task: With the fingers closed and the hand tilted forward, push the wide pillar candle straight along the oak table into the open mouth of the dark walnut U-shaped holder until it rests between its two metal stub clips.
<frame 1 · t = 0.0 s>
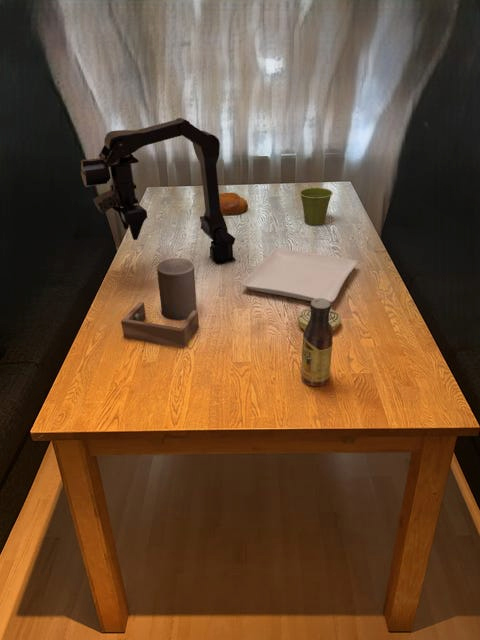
hand: (130, 234, 152), 15 cm above the table, tool pointing down, fingers open, 9 cm apart
croissant: (228, 210, 208), on the table
sauce bottle: (315, 380, 116), on the table
decorated donut: (318, 327, 135), on the table
plant pot: (314, 222, 195), on the table
pillar candle: (179, 311, 143), on the table
square plate: (301, 282, 156), on the table
holder: (163, 331, 135), on the table
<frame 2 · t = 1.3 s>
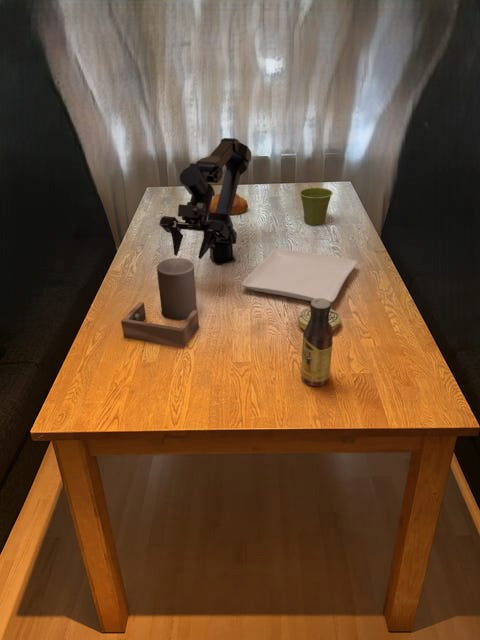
hand: (187, 256, 143), 12 cm above the table, tool tilted 45°, fingers open, 7 cm apart
nothing on the table moved.
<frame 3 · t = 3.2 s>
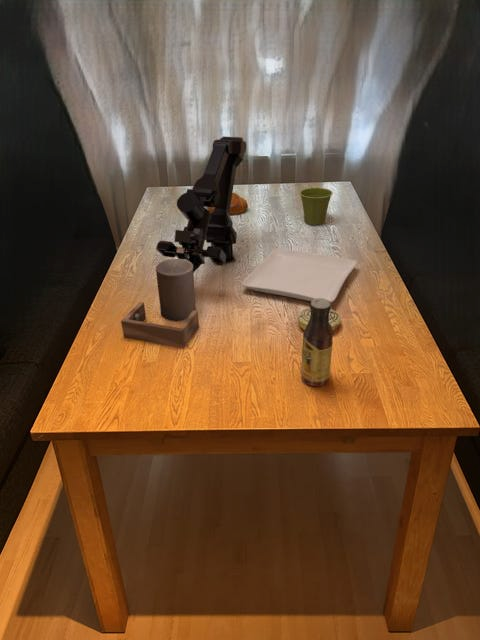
hand: (184, 281, 143), 7 cm above the table, tool tilted 45°, fingers closed, pressing on pillar candle
pillar candle: (179, 312, 143), on the table, touching gripper
everything else where it was.
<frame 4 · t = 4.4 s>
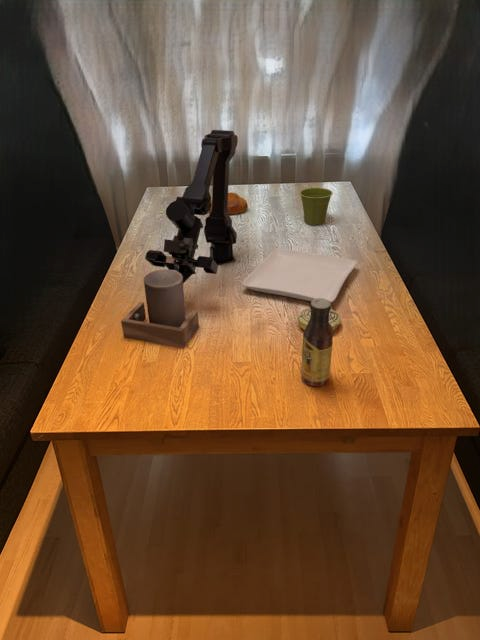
hand: (174, 292, 138), 7 cm above the table, tool tilted 45°, fingers closed, pressing on pillar candle
pillar candle: (168, 325, 138), on the table, touching gripper
everything else where it was.
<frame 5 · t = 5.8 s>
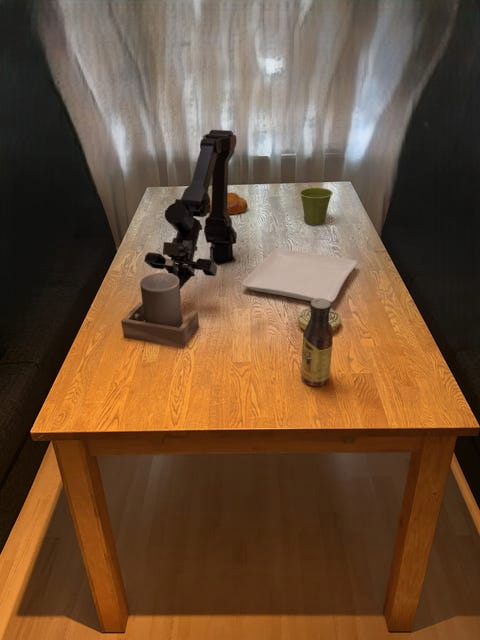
hand: (173, 295, 138), 6 cm above the table, tool tilted 45°, fingers closed
pillar candle: (165, 329, 136), on the table
everything else where it was.
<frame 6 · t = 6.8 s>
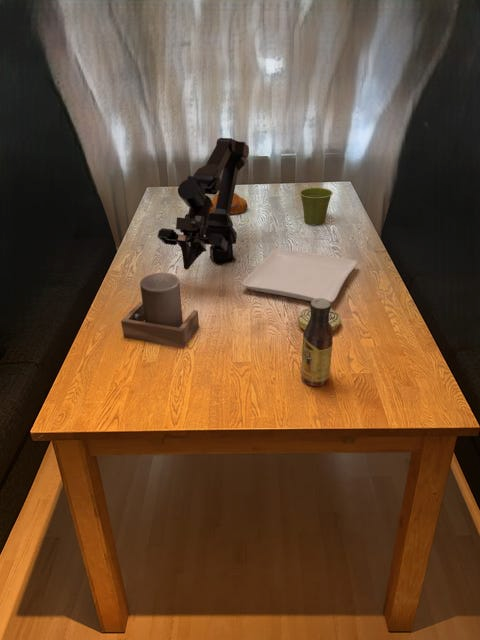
hand: (185, 269, 143), 10 cm above the table, tool tilted 45°, fingers closed
nothing on the table moved.
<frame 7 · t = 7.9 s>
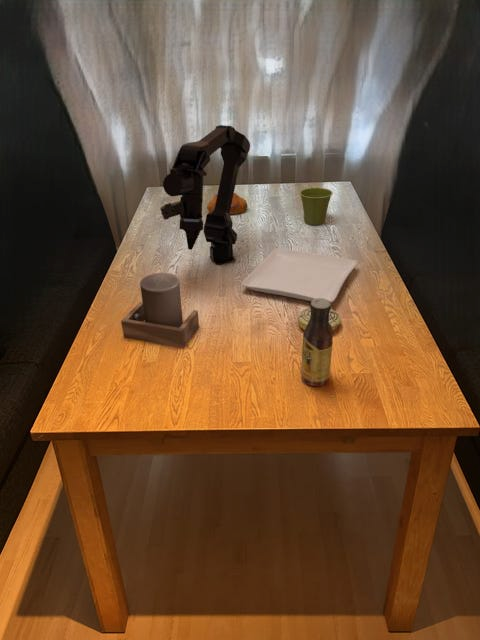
hand: (190, 249, 150), 11 cm above the table, tool pointing down, fingers closed
nothing on the table moved.
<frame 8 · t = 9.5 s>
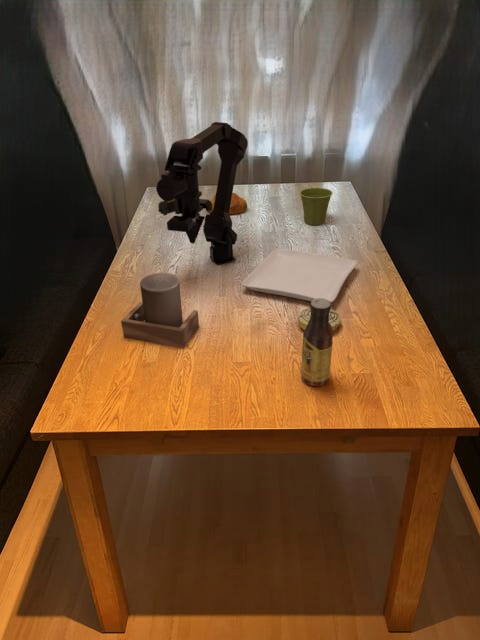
hand: (192, 242, 152), 12 cm above the table, tool pointing down, fingers closed
nothing on the table moved.
at the end: pillar candle 1.5 cm from the holder (horizontally); pillar candle tilted 0°; pillar candle moved 9.0 cm from its start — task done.
